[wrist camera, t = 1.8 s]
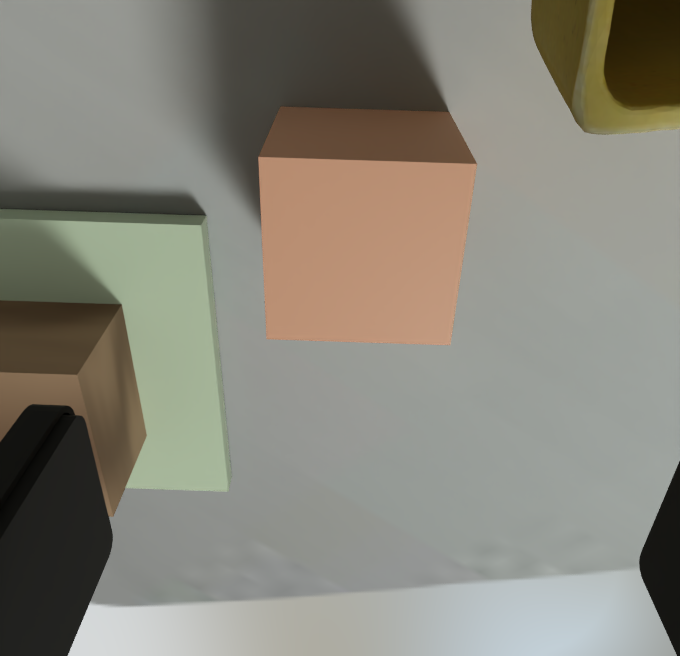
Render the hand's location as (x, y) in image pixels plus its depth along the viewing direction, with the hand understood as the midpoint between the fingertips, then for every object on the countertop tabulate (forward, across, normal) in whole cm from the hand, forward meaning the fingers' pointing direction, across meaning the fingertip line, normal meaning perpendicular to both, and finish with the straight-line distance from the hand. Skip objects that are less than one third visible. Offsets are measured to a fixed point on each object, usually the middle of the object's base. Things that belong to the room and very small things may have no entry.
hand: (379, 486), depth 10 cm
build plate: (+12, +11, +6) cm, 18 cm away
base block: (+11, +11, +6) cm, 17 cm away
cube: (+12, 0, -1) cm, 12 cm away
